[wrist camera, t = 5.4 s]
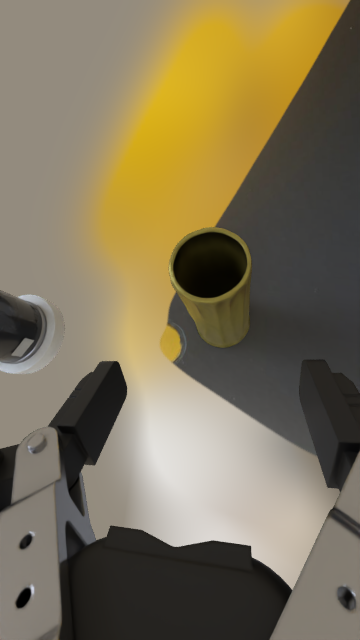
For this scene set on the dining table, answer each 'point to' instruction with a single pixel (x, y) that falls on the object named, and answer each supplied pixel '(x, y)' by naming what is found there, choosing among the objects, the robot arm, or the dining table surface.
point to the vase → (214, 283)
